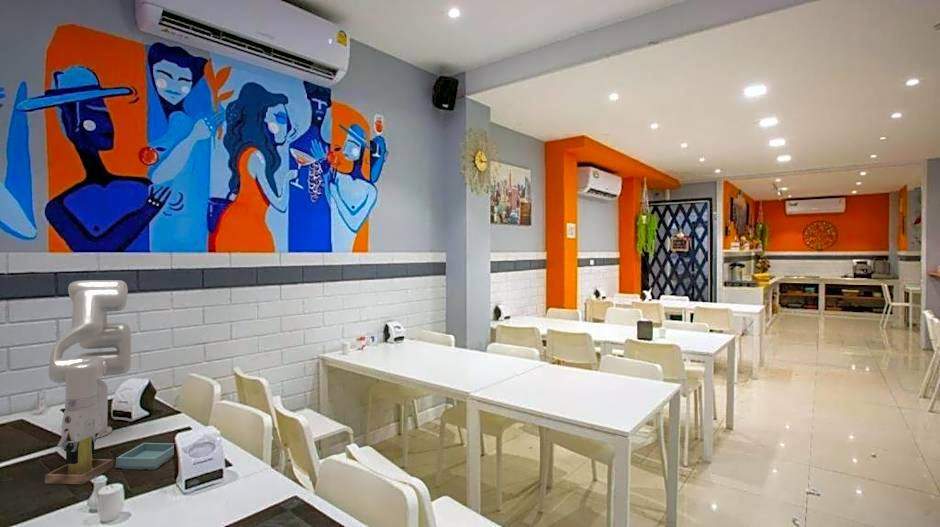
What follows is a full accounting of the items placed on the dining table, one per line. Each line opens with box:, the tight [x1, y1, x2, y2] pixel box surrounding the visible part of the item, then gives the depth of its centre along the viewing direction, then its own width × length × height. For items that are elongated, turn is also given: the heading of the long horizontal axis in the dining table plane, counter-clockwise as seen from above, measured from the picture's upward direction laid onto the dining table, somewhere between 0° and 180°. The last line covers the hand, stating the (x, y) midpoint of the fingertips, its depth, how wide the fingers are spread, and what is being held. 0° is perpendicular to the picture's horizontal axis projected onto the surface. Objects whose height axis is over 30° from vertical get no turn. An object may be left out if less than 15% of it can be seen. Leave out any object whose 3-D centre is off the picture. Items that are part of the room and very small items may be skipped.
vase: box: [67, 436, 94, 475], centre depth 147 cm, size 6×6×14 cm
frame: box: [44, 458, 114, 485], centre depth 146 cm, size 12×12×2 cm
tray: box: [115, 442, 175, 471], centre depth 157 cm, size 13×13×4 cm
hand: (80, 458), depth 147 cm, fingers closed on vase, 5 cm apart
